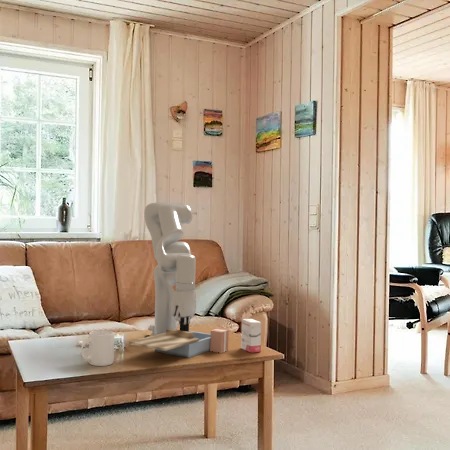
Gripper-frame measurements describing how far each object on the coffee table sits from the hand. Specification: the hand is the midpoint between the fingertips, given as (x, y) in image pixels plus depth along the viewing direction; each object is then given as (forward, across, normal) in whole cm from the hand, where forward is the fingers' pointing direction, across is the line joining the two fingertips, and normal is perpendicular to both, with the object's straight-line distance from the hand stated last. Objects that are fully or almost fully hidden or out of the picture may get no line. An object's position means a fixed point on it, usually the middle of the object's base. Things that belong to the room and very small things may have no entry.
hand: (184, 334), depth 226 cm
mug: (+7, +34, -12) cm, 37 cm away
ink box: (+7, -17, +20) cm, 27 cm away
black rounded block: (+7, +14, -37) cm, 40 cm away
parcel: (+6, -8, +11) cm, 15 cm away
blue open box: (+6, -2, 0) cm, 7 cm away
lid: (+1, +12, 0) cm, 12 cm away
